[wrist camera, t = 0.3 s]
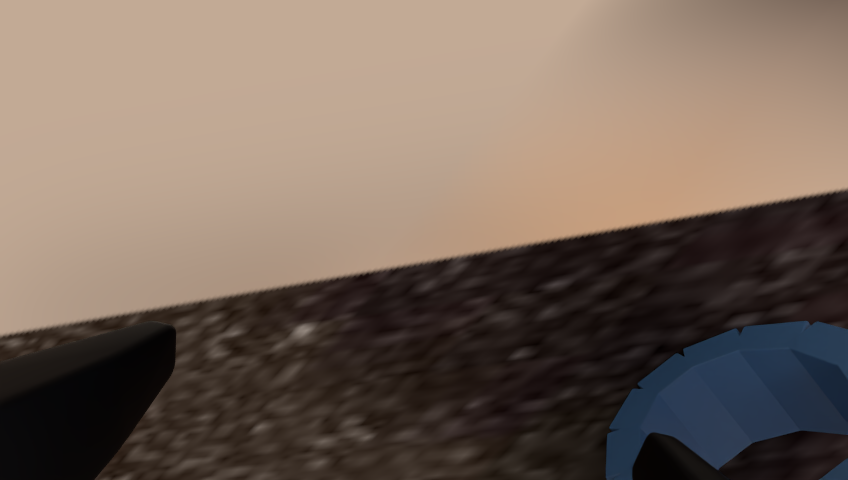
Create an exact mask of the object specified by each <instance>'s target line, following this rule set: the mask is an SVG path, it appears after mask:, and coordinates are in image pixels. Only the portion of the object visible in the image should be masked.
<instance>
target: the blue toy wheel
mask: <svg viewBox="0 0 848 480" xmlns="http://www.w3.org/2000/svg"><path fill="white" fill-rule="evenodd" d="M683 351H684V356H685V357H684V356H682V355H680V354H678V353H676V354H674V355H673V356H672V357H670V358H669V359H668V360H667V361H665V362H664V363H663V364H662V365H660V366H659V367H658V368H656V369H655V370H654V371H653V372H651V373H650V374H649V375H648V376H646V377H645V378H644V379H642V380H641V381H640V382H639V383H638V386H639V387H640V389H632V390H631V392H630V393H629V395H628V397H627V398H626V400H625V402H624V403H623V405H622V407H621V408H620V410H619V412H618V413H617V415H616V417H615V418H614V420H613V422H612V423H611V425H610V427H609V428H610V429H611V431H612V432H611V433H608V434H607V453H606V479H607V480H633V478H632V469H633V465H634V462H635V460H636V458H637V456H638V454H639V451H640V449H641V447H642V445H643V443H644V441H645V439H646V437H647V436H648V435H649V434H650V433H653V432H656V433H660V434H665V435H670V436H673V437H675V438H677V439H678V440H679V441H681V442H682V443H683V444H685V445H686V446H687V447H688V448H690V449H691V450H692V451H694V452H695V453H696V454H697V455H699V456H700V457H701V458H703V459H704V460H705V461H707V462H708V463H709V464H710V465H712V466H713V467H714V468H716V469H717V470H718V469H719V468H720V467H721V466H723V465H724V464H725V463H727V462H728V461H729V460H731V459H732V458H733V457H734V456H736V455H737V454H738V453H740V452H741V451H742V450H744V449H745V448H746V447H747V446H749V445H750V444H751V443H753V442H757V441H761V440H765V439H769V438H773V437H777V436H781V435H785V434H789V433H793V432H796V431H800V430H805V431H815V432H825V433H835V434H845V435H848V329H844V328H840V327H836V326H833V325H829V324H825V323H821V322H815V323H814V324H812V325H810V324H809V323H808V322H807V321H799V322H788V323H777V324H766V325H755V326H745V327H744V328H743V330H742V332H741V334H740V332H739V331H738V330H737V329H736V328H735V329H732V330H730V331H727V332H725V333H722V334H720V335H717V336H715V337H712V338H710V339H707V340H704V341H702V342H699V343H697V344H694V345H692V346H689V347H687V348H684V349H683ZM819 480H848V458H847V459H846V460H844V461H843V462H842V463H840V464H839V465H838V466H836V467H835V468H834V469H833V470H831V471H830V472H829V473H827V474H826V475H825V476H823V477H822V478H821V479H819Z"/></svg>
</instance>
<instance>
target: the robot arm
mask: <svg viewBox="0 0 848 480" xmlns="http://www.w3.org/2000/svg"><path fill="white" fill-rule="evenodd" d="M175 352H176V330H175V328H174V327H173V326H172V325H169V324H165V323H160V322H156V321H148V322H145V323H141V324H137V325H134V326H130V327H126V328H123V329H119V330H115V331H112V332H108V333H104V334H100V335H97V336H93V337H89V338H86V339H82V340H78V341H75V342H71V343H67V344H64V345H60V346H56V347H53V348H49V349H45V350H42V351H38V352H34V353H30V354H27V355H23V356H19V357H16V358H12V359H8V360H5V361H1V362H0V480H94V479H95V478H96V477H97V476H98V475H99V473H100V472H101V471H102V470H103V469H104V467H105V466H106V465H107V464H108V463H109V461H110V460H111V459H112V458H113V457H114V455H115V454H116V453H117V452H118V450H119V449H120V448H121V446H122V445H123V444H124V442H125V441H126V440H127V438H128V437H129V435H130V434H131V432H132V431H133V430H134V428H135V427H136V425H137V424H138V422H139V421H140V419H141V418H142V417H143V415H144V414H145V412H146V411H147V409H148V408H149V406H150V405H151V404H152V402H153V401H154V399H155V398H156V396H157V395H158V393H159V392H160V391H161V389H162V388H163V386H164V385H165V383H166V382H167V380H168V379H169V377H170V376H171V374H172V372H173V369H174V366H175ZM632 478H633V480H730V479H728V478H727V477H726V476H725V475H723V474H722V473H721V472H719V471H718V470H717V469H716V468H714V467H713V466H712V465H710V464H709V463H708V462H707V461H705V460H704V459H703V458H701V457H700V456H699V455H697V454H696V453H695V452H694V451H692V450H691V449H690V448H688V447H687V446H686V445H685V444H683V443H682V442H681V441H679V440H678V439H677V438H675V437H673V436H670V435H665V434H660V433H656V432H653V433H650V434H649V435H648V436H647V437H646V439H645V441H644V443H643V445H642V447H641V449H640V451H639V454H638V456H637V458H636V460H635V462H634V465H633V469H632Z"/></svg>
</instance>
